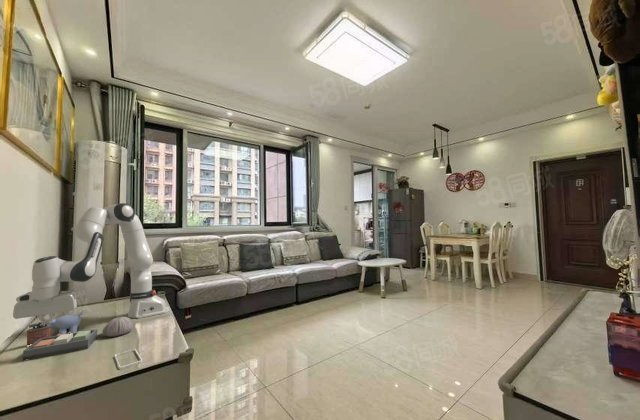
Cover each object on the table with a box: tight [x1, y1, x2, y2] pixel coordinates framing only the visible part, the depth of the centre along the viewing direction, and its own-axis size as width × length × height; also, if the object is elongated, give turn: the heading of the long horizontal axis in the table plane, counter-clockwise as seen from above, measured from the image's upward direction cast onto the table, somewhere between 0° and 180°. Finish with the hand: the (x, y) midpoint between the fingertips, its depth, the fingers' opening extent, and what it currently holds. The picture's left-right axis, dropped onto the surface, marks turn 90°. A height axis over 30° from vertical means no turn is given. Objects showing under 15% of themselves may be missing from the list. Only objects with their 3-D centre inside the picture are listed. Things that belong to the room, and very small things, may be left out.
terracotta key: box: [33, 338, 55, 348], centre depth 118 cm, size 4×7×2 cm, turn 27°
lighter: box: [26, 321, 52, 345], centre depth 127 cm, size 8×3×10 cm, turn 141°
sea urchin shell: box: [102, 316, 136, 338], centre depth 137 cm, size 13×14×8 cm
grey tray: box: [22, 328, 98, 361], centre depth 121 cm, size 21×14×4 cm, turn 117°
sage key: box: [73, 329, 92, 341], centre depth 124 cm, size 4×7×2 cm, turn 27°
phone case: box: [114, 348, 143, 370], centre depth 108 cm, size 7×1×15 cm
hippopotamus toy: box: [47, 310, 84, 335], centre depth 141 cm, size 11×15×10 cm
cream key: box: [54, 333, 73, 345], centre depth 121 cm, size 4×7×2 cm, turn 27°
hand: (46, 324), depth 119 cm, fingers closed
